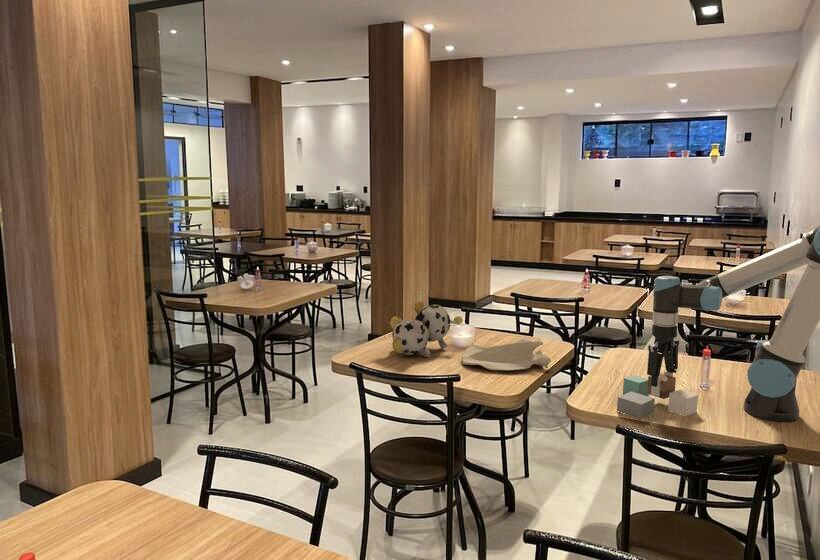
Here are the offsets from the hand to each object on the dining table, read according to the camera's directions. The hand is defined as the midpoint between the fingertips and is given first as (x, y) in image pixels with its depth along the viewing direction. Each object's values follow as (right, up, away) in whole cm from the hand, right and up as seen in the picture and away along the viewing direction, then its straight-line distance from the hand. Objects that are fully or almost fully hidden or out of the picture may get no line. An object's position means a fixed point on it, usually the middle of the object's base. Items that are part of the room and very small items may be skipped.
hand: (661, 393), depth 197 cm
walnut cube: (0, 0, 0) cm, 1 cm away
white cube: (+4, -5, -6) cm, 9 cm away
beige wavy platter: (-46, +3, +40) cm, 61 cm away
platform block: (-11, -5, -7) cm, 14 cm away
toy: (-78, +7, +57) cm, 96 cm away
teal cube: (-5, -2, +8) cm, 10 cm away
